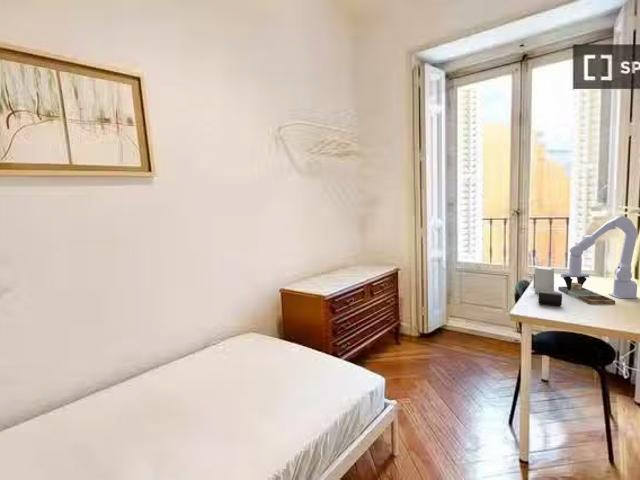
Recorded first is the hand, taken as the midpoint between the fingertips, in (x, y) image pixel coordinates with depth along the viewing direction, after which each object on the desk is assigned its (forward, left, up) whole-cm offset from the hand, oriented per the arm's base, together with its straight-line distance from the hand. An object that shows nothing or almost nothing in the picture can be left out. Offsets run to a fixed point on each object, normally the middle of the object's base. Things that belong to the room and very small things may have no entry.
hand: (574, 289), depth 211 cm
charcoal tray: (0, 0, -1) cm, 1 cm away
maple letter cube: (0, 0, -1) cm, 1 cm away
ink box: (+13, -8, -2) cm, 15 cm away
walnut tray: (0, +20, -1) cm, 20 cm away
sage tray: (0, +10, -1) cm, 10 cm away
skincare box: (+18, +3, -2) cm, 18 cm away
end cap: (+26, +25, -2) cm, 36 cm away
